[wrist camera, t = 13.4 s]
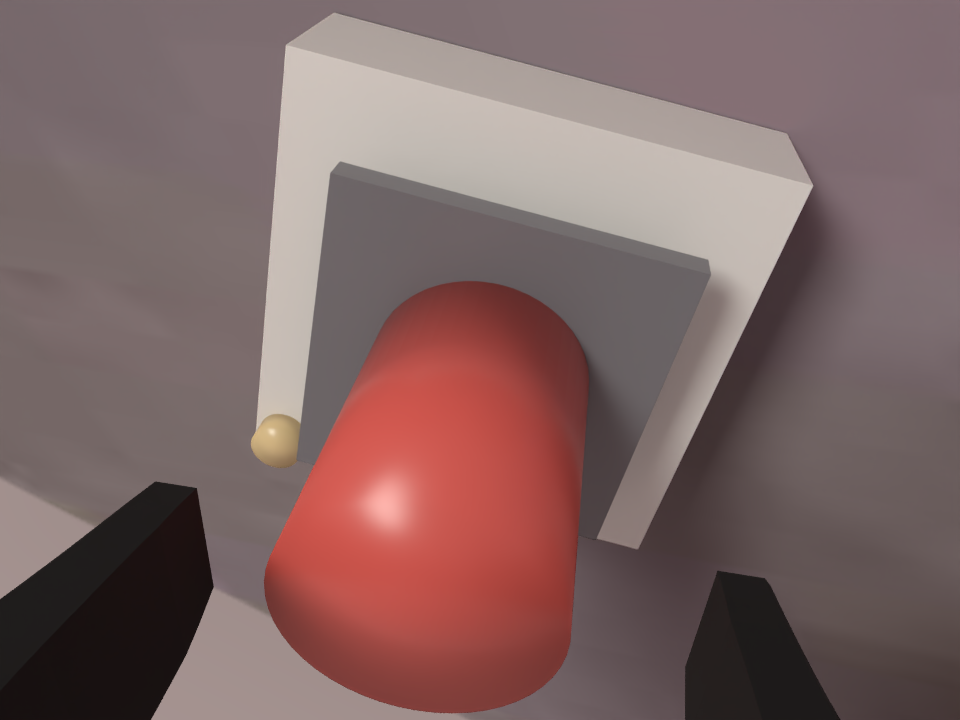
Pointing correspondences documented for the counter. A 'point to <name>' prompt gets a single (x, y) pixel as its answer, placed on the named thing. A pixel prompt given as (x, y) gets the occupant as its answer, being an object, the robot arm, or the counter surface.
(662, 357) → the switch
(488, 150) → the box
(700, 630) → the robot arm
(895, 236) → the counter surface
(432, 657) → the cap
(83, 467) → the counter surface
